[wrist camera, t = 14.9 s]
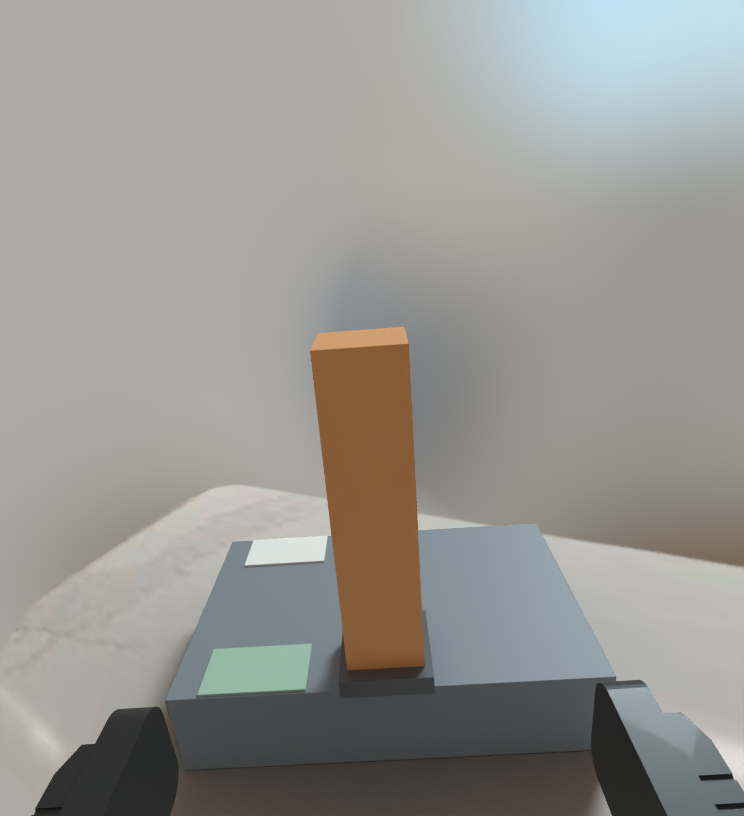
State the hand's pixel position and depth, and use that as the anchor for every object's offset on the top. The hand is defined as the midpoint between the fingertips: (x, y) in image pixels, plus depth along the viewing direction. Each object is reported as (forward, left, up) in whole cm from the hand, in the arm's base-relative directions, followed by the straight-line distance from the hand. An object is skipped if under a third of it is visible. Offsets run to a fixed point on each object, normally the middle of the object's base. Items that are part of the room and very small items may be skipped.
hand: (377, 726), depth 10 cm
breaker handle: (-8, -5, -8) cm, 13 cm away
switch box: (-12, -7, -13) cm, 19 cm away
